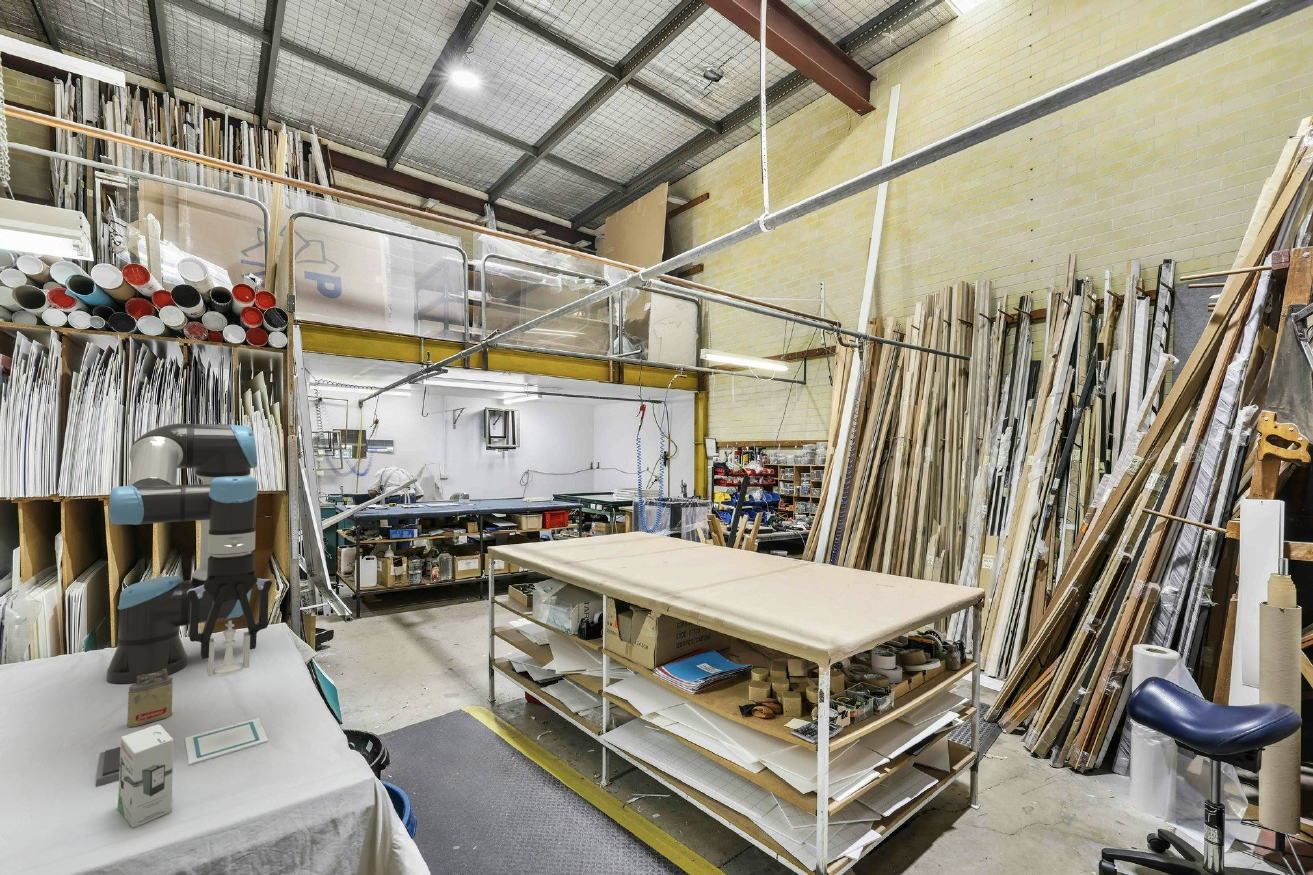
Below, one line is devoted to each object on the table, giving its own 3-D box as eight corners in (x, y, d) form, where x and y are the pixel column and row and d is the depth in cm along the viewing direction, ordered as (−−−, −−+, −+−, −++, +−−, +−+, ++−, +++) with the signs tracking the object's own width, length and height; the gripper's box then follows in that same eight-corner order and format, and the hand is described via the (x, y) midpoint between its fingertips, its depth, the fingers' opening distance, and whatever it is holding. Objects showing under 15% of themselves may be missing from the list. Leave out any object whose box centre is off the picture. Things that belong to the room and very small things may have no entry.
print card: (184, 739, 109) (185, 737, 109) (258, 719, 117) (258, 717, 117) (188, 765, 100) (188, 763, 100) (268, 741, 108) (268, 739, 108)
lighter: (128, 729, 112) (129, 680, 112) (125, 722, 114) (127, 675, 115) (173, 716, 117) (175, 670, 118) (170, 710, 120) (171, 665, 120)
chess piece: (226, 677, 106) (228, 625, 106) (206, 674, 107) (207, 623, 107) (250, 667, 110) (251, 618, 111) (230, 664, 111) (231, 616, 112)
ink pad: (99, 759, 101) (99, 750, 101) (157, 743, 107) (157, 735, 107) (96, 786, 93) (96, 777, 93) (159, 767, 99) (159, 759, 99)
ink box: (116, 808, 88) (118, 734, 88) (156, 792, 92) (158, 722, 92) (131, 829, 83) (133, 752, 84) (173, 811, 87) (175, 738, 88)
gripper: (173, 562, 100) (169, 689, 100) (288, 550, 112) (285, 663, 112) (171, 556, 105) (167, 676, 105) (281, 545, 118) (278, 652, 117)
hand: (228, 669), depth 109 cm, fingers closed on chess piece, 5 cm apart
